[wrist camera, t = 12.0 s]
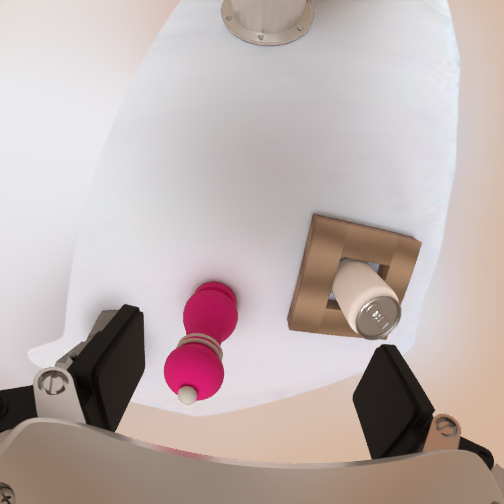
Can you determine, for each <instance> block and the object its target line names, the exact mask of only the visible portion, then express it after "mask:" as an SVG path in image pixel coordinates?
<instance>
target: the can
mask: <svg viewBox="0 0 504 504" xmlns="http://www.w3.org/2000/svg"><path fill="white" fill-rule="evenodd" d="M331 291H332V293H333V295H334V296H335V298H336V300H337V302H338V304H339V306H340V308H341V310H342V312H343V314H344V316H345V317H346V319H347V321H348V323H349V325H350V327H351V328H352V329H353V330H354V331H355V332H356V333H358V334H359V335H360V336H361V337H362V338H364V339H367V340H377V339H381V338H383V337H385V336H387V335H388V334H390V333H391V332H392V331H393V330H394V329H395V328H396V326H397V325H398V323H399V321H400V318H401V306H400V304H399V301H398V298H397V296H396V294H395V293H394V291H393V290H392V289H391V288H390V287H389V286H388V285H387V284H386V283H385V282H384V281H383V279H382V278H381V277H380V276H379V275H378V274H377V273H376V272H375V271H374V270H373V269H372V268H371V267H370V266H369V265H368V264H367V263H366V262H364V261H362V260H357V259H351V258H346V259H343V260H341V261H340V262H339V265H338V269H337V272H336V276H335V279H334V282H333V286H332V289H331Z"/></svg>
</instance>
